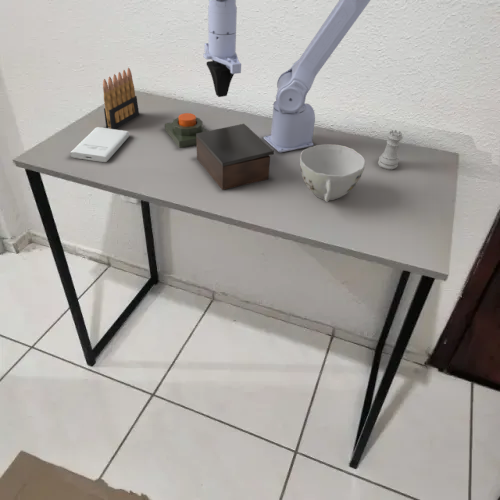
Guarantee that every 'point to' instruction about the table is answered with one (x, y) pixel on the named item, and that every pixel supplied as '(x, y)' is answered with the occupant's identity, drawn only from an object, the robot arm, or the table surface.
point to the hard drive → (100, 144)
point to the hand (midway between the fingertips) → (221, 95)
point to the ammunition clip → (119, 100)
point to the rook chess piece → (391, 151)
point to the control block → (184, 132)
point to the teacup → (331, 170)
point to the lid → (234, 144)
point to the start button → (187, 119)
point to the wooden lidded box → (233, 169)
